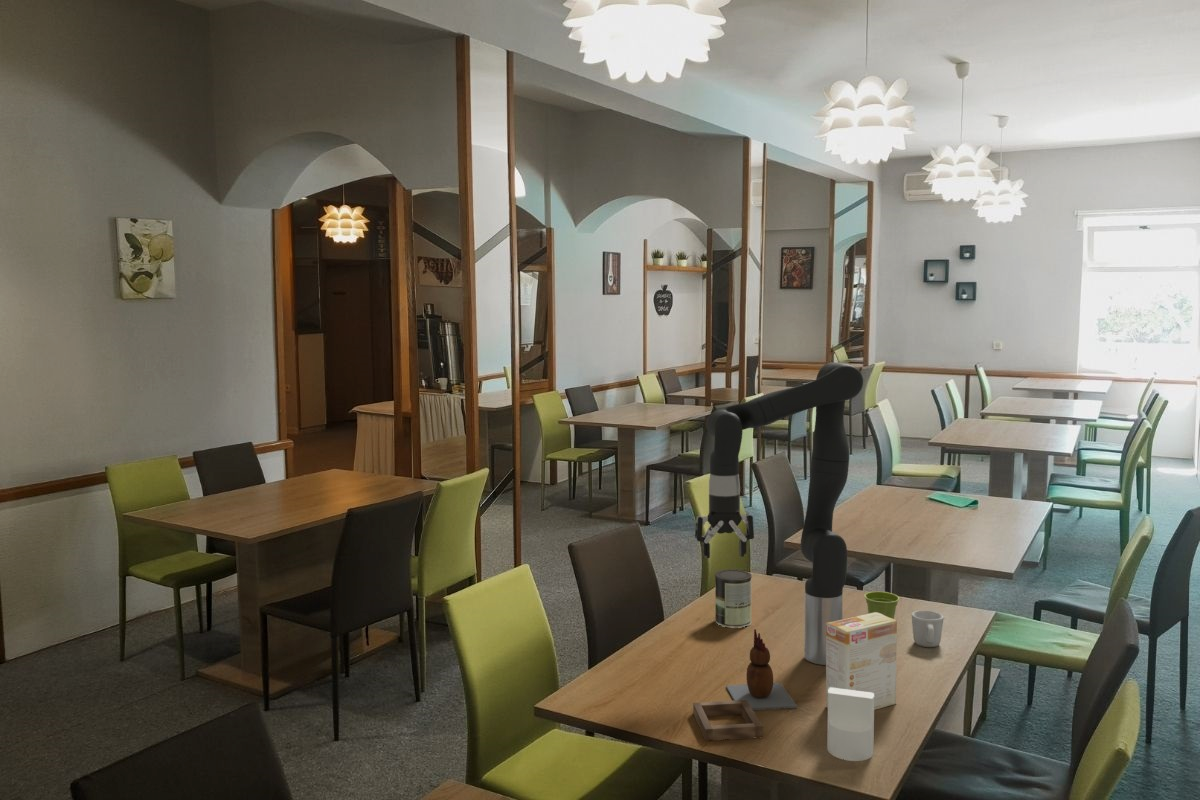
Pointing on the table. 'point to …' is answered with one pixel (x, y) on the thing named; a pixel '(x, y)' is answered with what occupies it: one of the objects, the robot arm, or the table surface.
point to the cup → (927, 628)
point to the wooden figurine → (759, 669)
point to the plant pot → (882, 603)
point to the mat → (773, 701)
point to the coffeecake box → (863, 656)
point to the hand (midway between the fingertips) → (724, 556)
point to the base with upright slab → (850, 724)
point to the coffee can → (733, 598)
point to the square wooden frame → (727, 731)
